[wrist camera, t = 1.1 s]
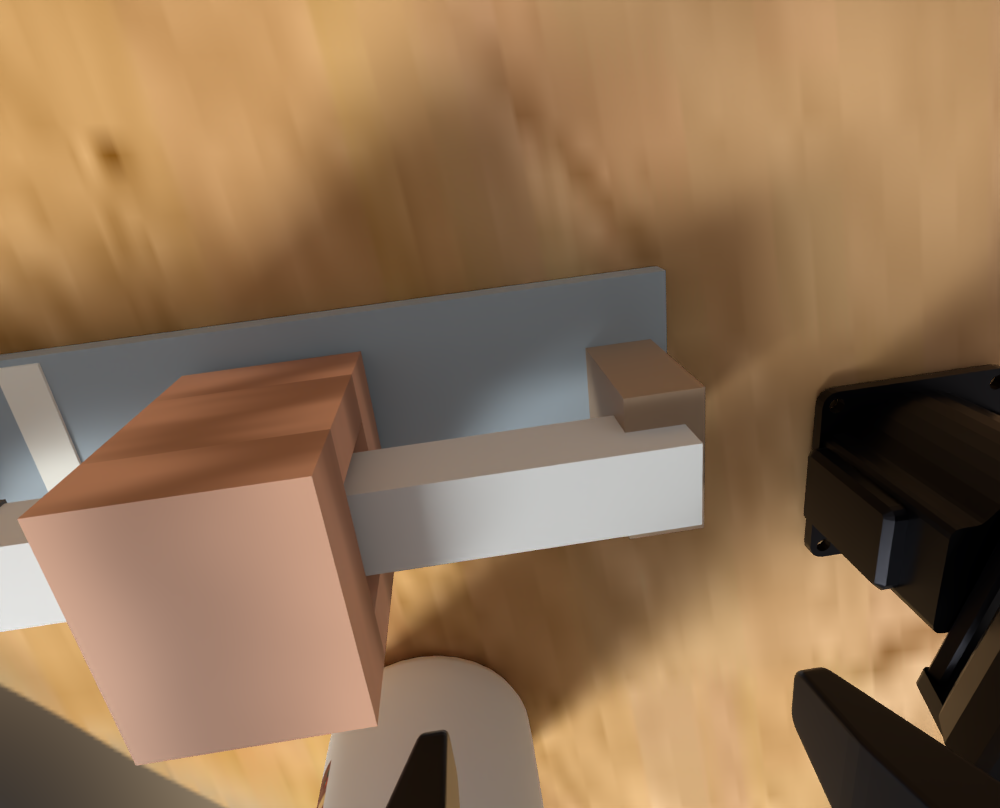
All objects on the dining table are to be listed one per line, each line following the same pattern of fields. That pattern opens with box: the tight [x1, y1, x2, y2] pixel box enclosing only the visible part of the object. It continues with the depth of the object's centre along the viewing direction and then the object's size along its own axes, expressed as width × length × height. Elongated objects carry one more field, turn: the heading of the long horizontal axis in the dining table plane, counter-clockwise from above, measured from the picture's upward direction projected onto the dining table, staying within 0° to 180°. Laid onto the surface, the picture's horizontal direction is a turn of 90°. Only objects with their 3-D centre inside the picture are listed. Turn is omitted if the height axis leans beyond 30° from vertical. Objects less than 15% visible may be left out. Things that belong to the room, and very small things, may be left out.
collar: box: [17, 351, 394, 765], centre depth 15 cm, size 5×6×7 cm
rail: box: [0, 266, 705, 632], centre depth 17 cm, size 25×8×6 cm, turn 96°
